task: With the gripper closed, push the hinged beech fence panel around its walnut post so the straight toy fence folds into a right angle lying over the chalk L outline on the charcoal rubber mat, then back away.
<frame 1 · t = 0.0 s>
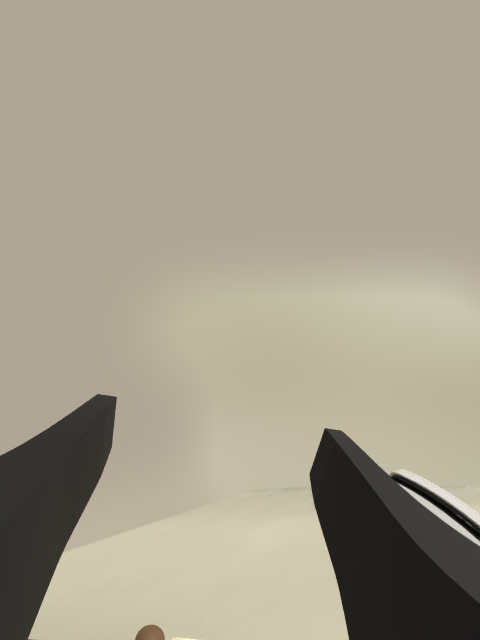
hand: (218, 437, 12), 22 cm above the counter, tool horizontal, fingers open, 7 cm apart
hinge: (439, 582, 34), on the counter
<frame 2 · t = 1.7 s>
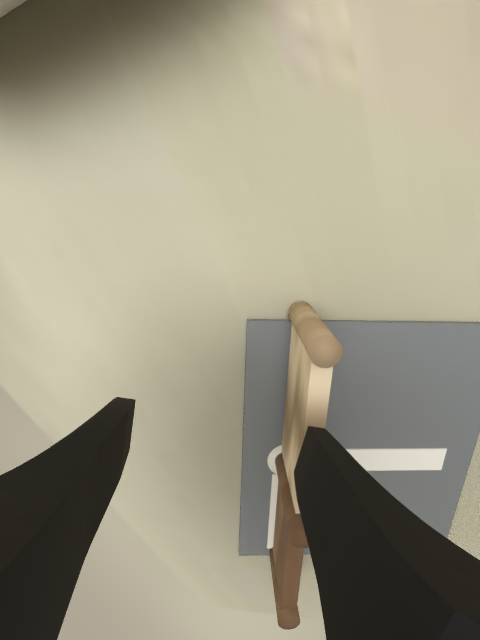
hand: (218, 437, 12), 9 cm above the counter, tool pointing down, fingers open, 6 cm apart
fence post and rail: (285, 456, 24), resting on layout mat
layout mat: (358, 450, 24), on the counter
fence panel: (303, 405, 19), point 3 cm above the counter, hinge at 0.0°
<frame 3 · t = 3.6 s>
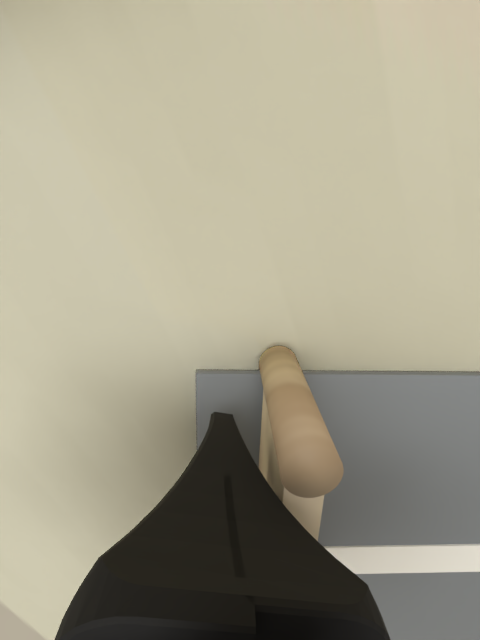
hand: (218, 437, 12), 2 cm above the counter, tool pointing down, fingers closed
layout mat: (364, 545, 17), on the counter
fence panel: (280, 516, 12), point 3 cm above the counter, hinge at 0.2°, touching gripper
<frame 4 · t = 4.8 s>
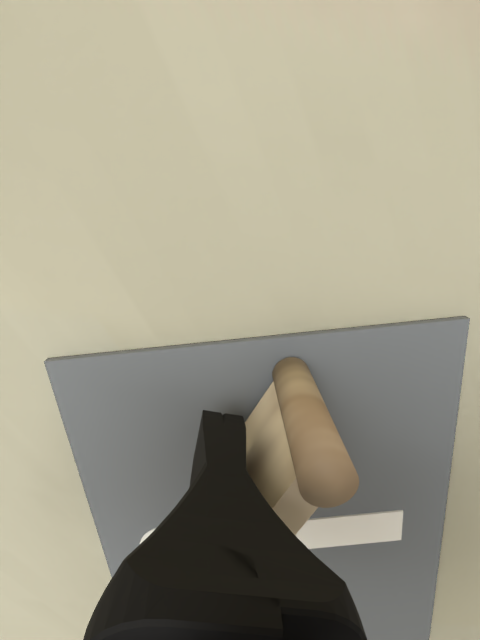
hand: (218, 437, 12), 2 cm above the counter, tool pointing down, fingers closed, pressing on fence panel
layout mat: (272, 523, 16), on the counter
fence panel: (234, 511, 12), point 3 cm above the counter, hinge at 35.8°, touching gripper
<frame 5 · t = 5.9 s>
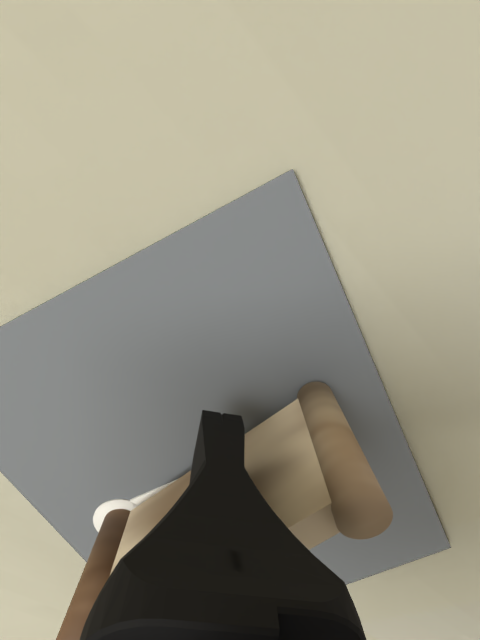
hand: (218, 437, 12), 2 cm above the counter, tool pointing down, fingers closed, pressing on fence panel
fence post and rail: (124, 514, 16), resting on layout mat
layout mat: (213, 467, 15), on the counter
fence panel: (227, 510, 12), point 3 cm above the counter, hinge at 78.5°, touching gripper
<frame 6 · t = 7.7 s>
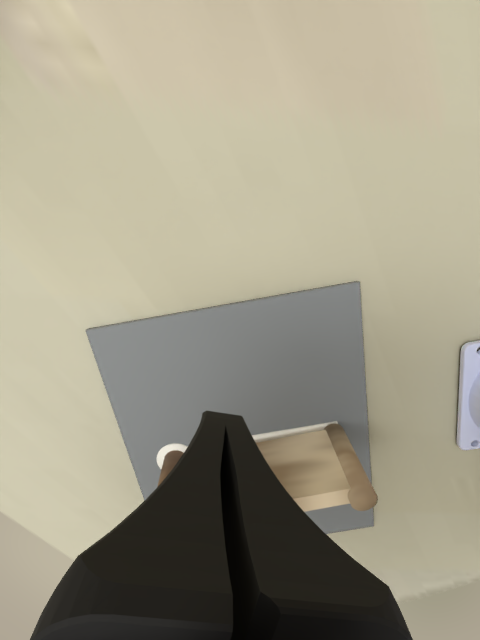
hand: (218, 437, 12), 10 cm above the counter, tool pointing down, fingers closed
fence post and rail: (176, 456, 24), resting on layout mat
layout mat: (247, 438, 23), on the counter
fence panel: (273, 475, 20), point 3 cm above the counter, hinge at 88.5°
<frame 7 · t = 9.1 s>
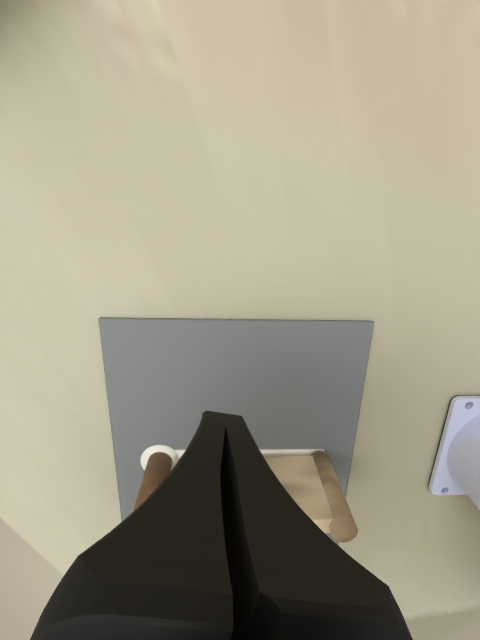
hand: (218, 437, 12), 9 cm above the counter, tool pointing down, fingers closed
fence post and rail: (161, 457, 23), resting on layout mat
layout mat: (235, 451, 24), on the counter
fence panel: (257, 493, 21), point 3 cm above the counter, hinge at 88.5°
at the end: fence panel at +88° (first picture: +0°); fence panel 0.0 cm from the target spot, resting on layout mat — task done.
